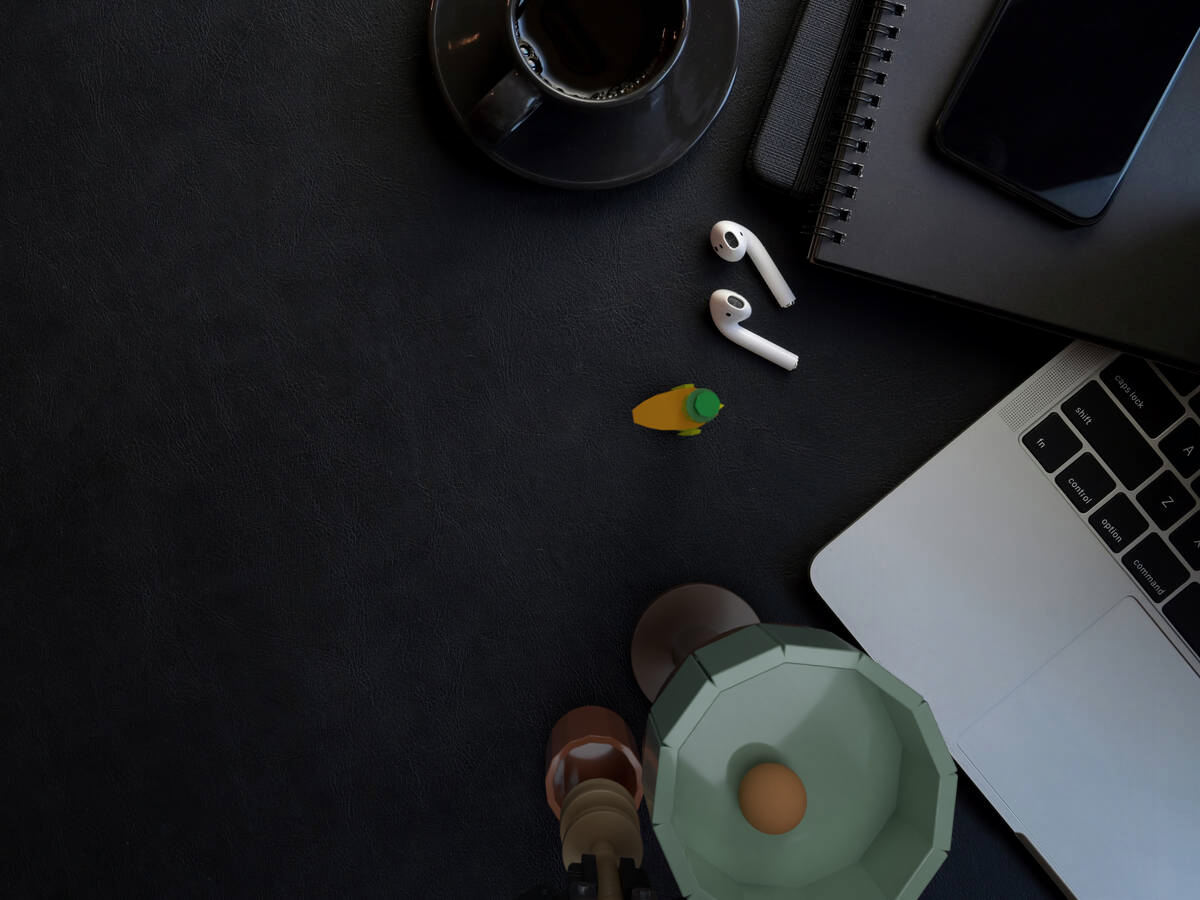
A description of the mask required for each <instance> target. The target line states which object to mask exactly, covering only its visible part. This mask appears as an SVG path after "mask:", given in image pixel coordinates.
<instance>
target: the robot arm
mask: <svg viewBox="0 0 1200 900" xmlns="http://www.w3.org/2000/svg"><path fill="white" fill-rule="evenodd" d="M619 875H620V882H621V889H622V895H623V900H659V895H658V892H657V891H655V890H654V889H652V885H651V880H650V876H649V873H648V872H647V870H645V869H644V868H641V867H640V868H636V866H635V861H634V858H626V857H620V861H619ZM598 886H599V883H598V873H597V863H596V855H592V854H582V857H581V863H574V862H572V863H571V864H570V865H569V866H568V871H567V870H566V882H565V890H564V892H563V893H558V890H557V888H555V887H554V886H551V885H548V884H538V885H537V884H536V885H534V886H533V887H531V888H529V889H528V890H526V891H524V892H523V893H522V894H520V895H518V896H516V897H515V898H514V899H513V900H597V895H598ZM671 900H686V897H683V896H675V897H673V898H671Z"/></svg>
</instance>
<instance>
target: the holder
mask: <svg viewBox="0 0 1200 900" xmlns="http://www.w3.org/2000/svg"><path fill="white" fill-rule="evenodd" d="M545 747H546V748H545V770H544V771H545V772H544V773H545V775H544V783H545V789H546V790H545V792H546V801H547V804H548V806H549V808H550V809H551V810H552V812H553V813H554V815H555V817H556V819H557V820H558V821H559V822H560V811H561V807H562V804H563V802H564V799H565V798H566V796H567V795H568V793H569V792H570V791H571V790H572V789H573V788H574V787H576V786H577V785H578V784H580V783H582V782H584V781H587V780H590V779H597V778H602V779H609V780H612V781H614V782H617V783H618V784H620V785H622V786H623V787H624V788H625V789H626V790H627V791H628V792H629V793H630V795H631V796H632V798H633V800H634V802H635V805H636V808H637V812H638V811H639V809H640V807H641V802H642V800H643V797H644V792H643V788H642V782H641V777H642V768H643V765H642V760H641V757H640V753H639V750H638V747H637V743H636V739H635V736H634V734H633V732H632V730H631V729H630V727H629V725H628V723H627V722H626V721H625V720H624V718H623V717H621V716H620V715H619V714H618V713H616V712H615V711H613V710H611V709H609V708H607V707H603V706H599V705H583V706H579V707H577V708H574V709H572V710H570V711H568V712H566V713H565V714H564V715H562V716H561V717H560V718H559V719H558V720H557V722H556V723H555V724H554V726H553V728H552V729H551V731H550V734H549V736H548V740H547V744H546V746H545Z"/></svg>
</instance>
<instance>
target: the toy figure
mask: <svg viewBox="0 0 1200 900" xmlns="http://www.w3.org/2000/svg"><path fill="white" fill-rule="evenodd" d="M724 406H725V405H724V404H723V403H721V400H720V399H719V397H718V395H717V394H716V393H715V392H714V391H713V390H712V389H709V388H705V387H700V388H697V387H695V384H694V383H686V384H681V385H678V386H675V387H673V388H671V389H670V391H666V392H662V393H658V394H656V395H654V396H652V397H650V398H648V399H646V400H644V401H643V402H641V403H640V404H639V405H637V406H636V407H634V408H633V409H632V420H633V423H634V424H637V425H640V426H642V427H645V428H650V429H654V430H660V431H677V432H678V433H677V436H682V437H685V436H688V437H689V436H697V435H699V434H701V432H702V431H701V429H700V427H702V426H703V425H706V423H708V422H711V421H712V420H714V419H715V418H717V416H719V412H720V410H721V409H722V408H724Z"/></svg>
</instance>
